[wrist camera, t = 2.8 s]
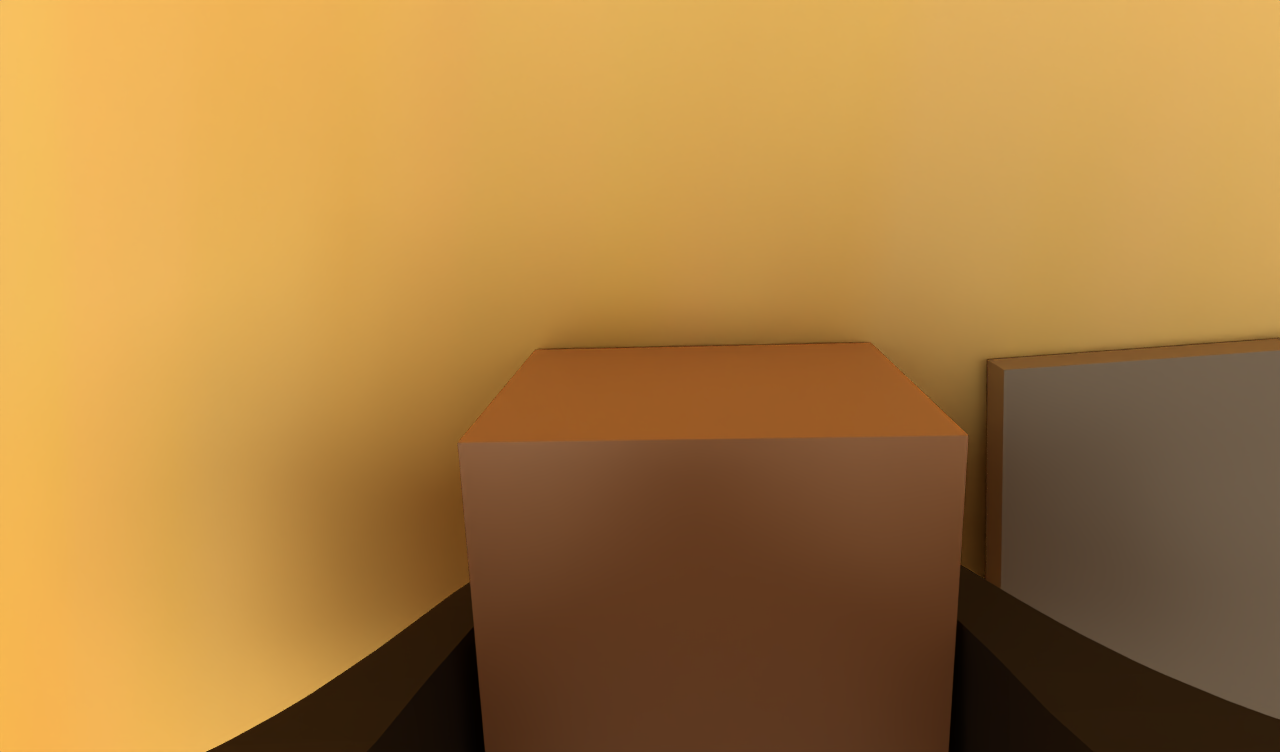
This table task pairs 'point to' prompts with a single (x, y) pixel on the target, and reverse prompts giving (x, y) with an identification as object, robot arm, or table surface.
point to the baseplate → (1146, 505)
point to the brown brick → (714, 552)
